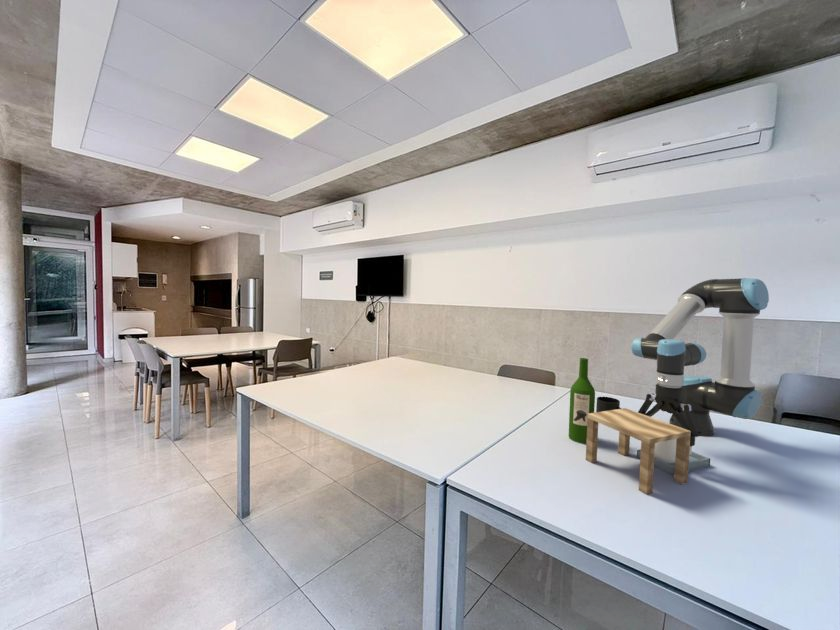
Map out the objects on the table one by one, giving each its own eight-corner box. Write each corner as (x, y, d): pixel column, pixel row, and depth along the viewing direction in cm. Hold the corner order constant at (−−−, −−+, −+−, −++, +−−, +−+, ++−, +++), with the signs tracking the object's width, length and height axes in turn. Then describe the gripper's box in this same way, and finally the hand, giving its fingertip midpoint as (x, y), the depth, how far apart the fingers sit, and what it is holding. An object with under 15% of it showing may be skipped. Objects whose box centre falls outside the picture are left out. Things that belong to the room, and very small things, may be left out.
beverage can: (669, 467, 114) (671, 432, 113) (649, 458, 119) (651, 425, 119) (679, 462, 117) (681, 428, 116) (659, 455, 122) (661, 422, 121)
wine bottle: (568, 441, 135) (572, 359, 133) (568, 432, 143) (571, 355, 141) (594, 445, 131) (597, 361, 129) (591, 436, 140) (595, 357, 138)
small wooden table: (622, 451, 126) (625, 408, 125) (687, 483, 106) (690, 431, 105) (585, 459, 120) (587, 413, 119) (646, 494, 99) (649, 439, 98)
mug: (616, 425, 151) (617, 405, 151) (591, 416, 162) (592, 398, 161) (628, 422, 156) (629, 402, 155) (603, 413, 166) (604, 395, 166)
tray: (670, 449, 129) (670, 442, 128) (709, 465, 117) (710, 458, 116) (636, 456, 122) (636, 450, 122) (674, 475, 110) (674, 467, 110)
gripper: (627, 377, 127) (625, 433, 128) (703, 397, 103) (699, 464, 105) (641, 375, 129) (639, 430, 131) (718, 394, 106) (714, 460, 107)
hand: (666, 445), depth 118 cm, fingers open, 13 cm apart
